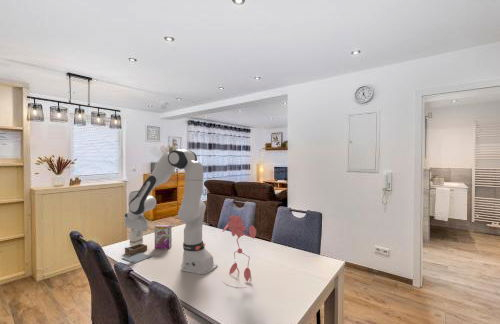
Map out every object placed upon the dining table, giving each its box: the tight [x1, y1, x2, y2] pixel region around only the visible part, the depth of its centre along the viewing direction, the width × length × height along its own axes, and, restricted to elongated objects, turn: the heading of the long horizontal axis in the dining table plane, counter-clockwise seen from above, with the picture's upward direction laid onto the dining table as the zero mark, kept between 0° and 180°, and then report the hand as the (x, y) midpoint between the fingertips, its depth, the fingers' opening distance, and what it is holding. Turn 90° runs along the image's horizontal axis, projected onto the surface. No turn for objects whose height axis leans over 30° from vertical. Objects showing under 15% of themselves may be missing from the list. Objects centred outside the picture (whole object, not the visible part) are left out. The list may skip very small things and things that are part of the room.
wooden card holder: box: [124, 243, 148, 256], centre depth 167 cm, size 8×12×4 cm
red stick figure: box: [222, 214, 257, 289], centre depth 127 cm, size 15×26×35 cm, turn 49°
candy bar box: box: [154, 224, 173, 250], centre depth 174 cm, size 11×5×16 cm, turn 84°
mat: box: [121, 252, 152, 264], centre depth 156 cm, size 14×12×1 cm
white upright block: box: [129, 230, 144, 247], centre depth 156 cm, size 4×7×9 cm, turn 148°
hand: (136, 235), depth 156 cm, fingers closed on white upright block, 3 cm apart
